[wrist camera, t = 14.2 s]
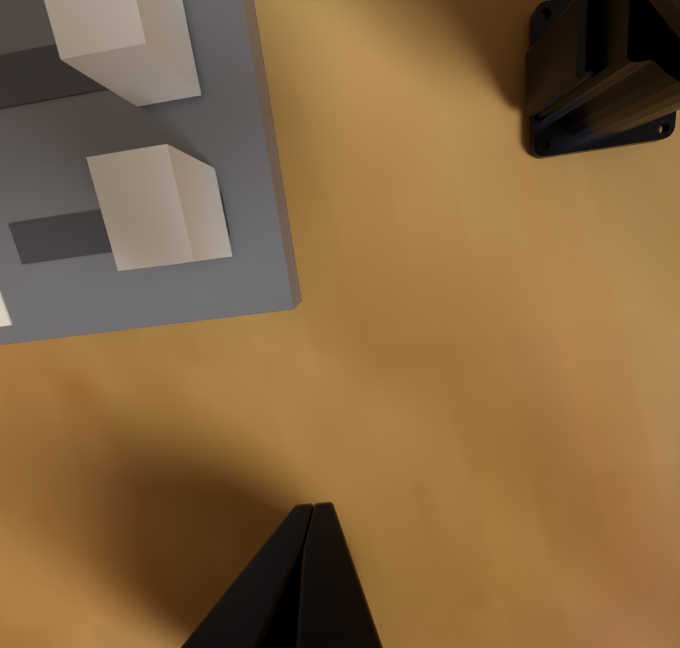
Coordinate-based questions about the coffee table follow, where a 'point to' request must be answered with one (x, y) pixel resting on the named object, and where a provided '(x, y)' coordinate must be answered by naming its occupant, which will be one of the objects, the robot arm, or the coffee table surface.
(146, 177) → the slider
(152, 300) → the switch panel
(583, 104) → the robot arm
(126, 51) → the middle slider
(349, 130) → the coffee table surface
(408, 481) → the coffee table surface
